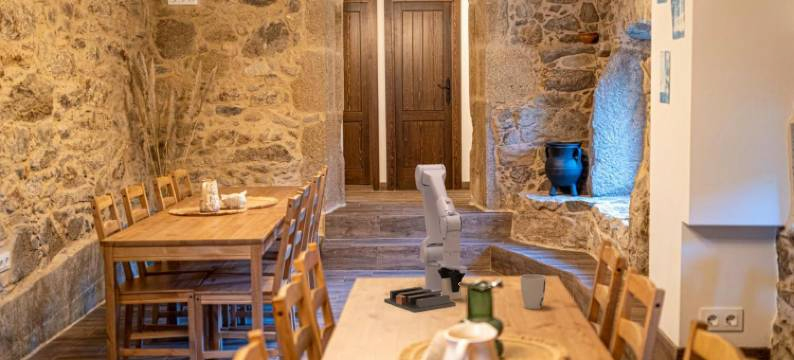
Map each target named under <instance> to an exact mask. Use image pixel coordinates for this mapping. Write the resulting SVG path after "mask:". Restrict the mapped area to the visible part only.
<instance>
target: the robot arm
mask: <svg viewBox="0 0 794 360" xmlns="http://www.w3.org/2000/svg"><path fill="white" fill-rule="evenodd" d="M414 177H415V178H414V179H415V186H416V189H417V190H418V191H420V193H421V201H422V208H423V215H424V225H425V231H426V232H425V233H426V237H425V238H424V239H423V240H422V241H421V242H420V244H419V249H420V251H419V258H420V261H421V263H422V264H424V281H425V282H424V285H423V286H421V287H422V290H425V289H430V290H431V293H433V292H442V279H444V278H451V283H452V292H453V293H456V292H459V288H460V286H459V285H458V283H459V282H461V283H462V281H463V279H464V277H465V275H466V274H467V273H468V266H465V265H463V264H461V232H462V230H463V229H464V221H463V217H462V215H461V214H460V212H457V211H456V208H455V205H454V202H453V200H452V198H450V197H448V193H447V189H446V185H445V182H446V178H447V170H446V166H445V165H444V164H443V163H440V164H417V166H416V167H415V172H414ZM439 218H440V220H439Z"/></svg>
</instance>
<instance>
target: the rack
mask: <svg viewBox="0 0 794 360" xmlns="http://www.w3.org/2000/svg"><path fill="white" fill-rule="evenodd" d="M422 287H423V286H413V287H408V288H400V289H392V290H389V297H388V298H384V299H383V302H384V303H387V304H389V305H391V306H395V307H398V308H400V309H403V310H406V311H409V312H412V313H419V312H425V311H426V312H427V311H431V310H432V311H433V310H437V309H439V310H440V309H445V308H450V307H456V302H455V301H453V300H450V296H449V295H443V296H442V292H440V291H437V292H431V290H430V289H425V290H424V289H422Z"/></svg>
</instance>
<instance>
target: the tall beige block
mask: <svg viewBox="0 0 794 360" xmlns="http://www.w3.org/2000/svg"><path fill="white" fill-rule="evenodd" d="M443 295H449V296H450V301H453V300H459V299H462V285H461V286H460V288H459V292H456V293H453V292H452V283H451V278H444V279H442V291H441V296H443Z"/></svg>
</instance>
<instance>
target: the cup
mask: <svg viewBox="0 0 794 360" xmlns="http://www.w3.org/2000/svg"><path fill="white" fill-rule="evenodd" d="M546 280H547V277H546V276H545V275H543V274H538V273H537V274H535V273H534V274H530V273H529V274H522V275H520V290H521V298H522V301H523V305H524V308H525V309H528V310H540V309H541V308H542V306H543V304H544V303H543V302H544V298H545V293H546V283H547V281H546Z"/></svg>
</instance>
